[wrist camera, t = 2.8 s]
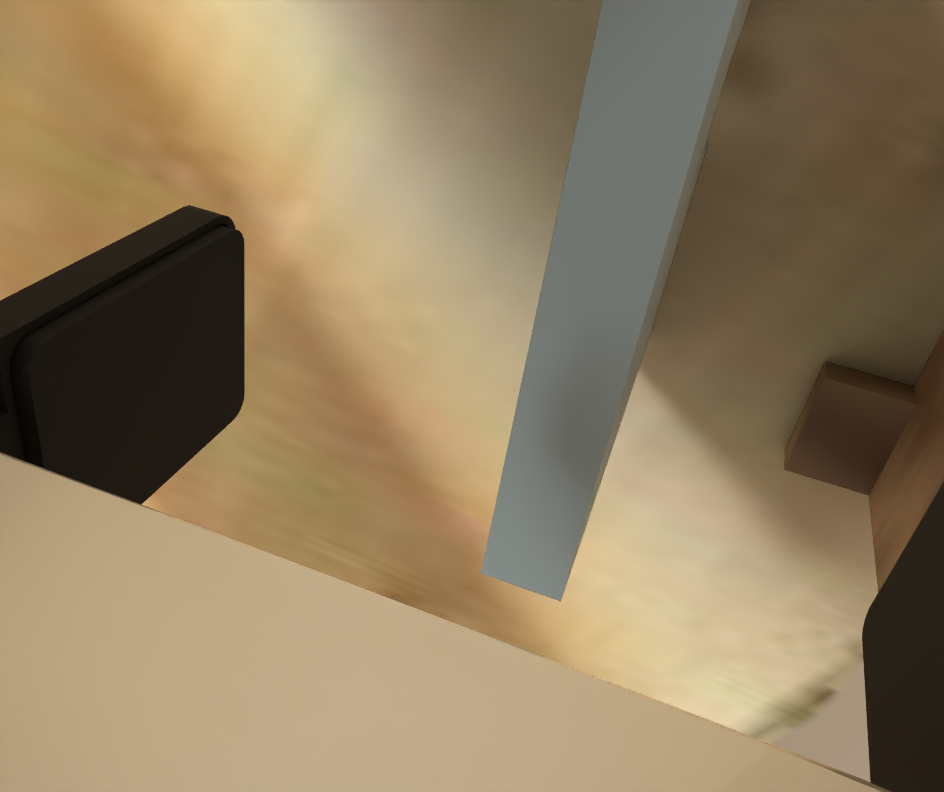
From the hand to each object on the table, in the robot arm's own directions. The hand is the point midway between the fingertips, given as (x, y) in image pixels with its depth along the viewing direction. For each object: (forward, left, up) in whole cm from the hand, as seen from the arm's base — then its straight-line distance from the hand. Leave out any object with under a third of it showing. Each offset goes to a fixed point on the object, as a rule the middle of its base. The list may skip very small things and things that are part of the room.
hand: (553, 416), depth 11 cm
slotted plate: (0, 0, -20) cm, 19 cm away
